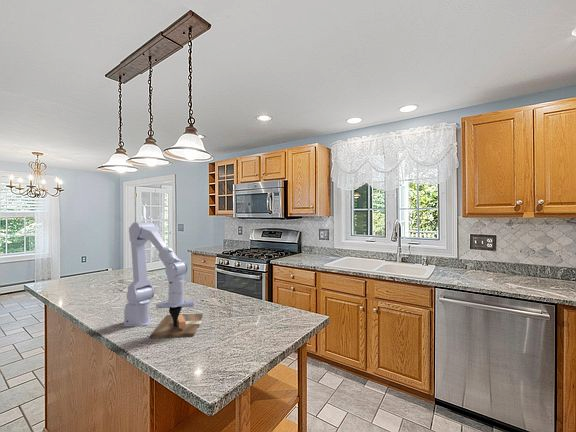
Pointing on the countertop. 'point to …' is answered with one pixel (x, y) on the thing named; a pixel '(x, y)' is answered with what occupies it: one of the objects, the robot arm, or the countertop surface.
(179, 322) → the orange bar
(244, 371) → the countertop surface
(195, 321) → the lock board
